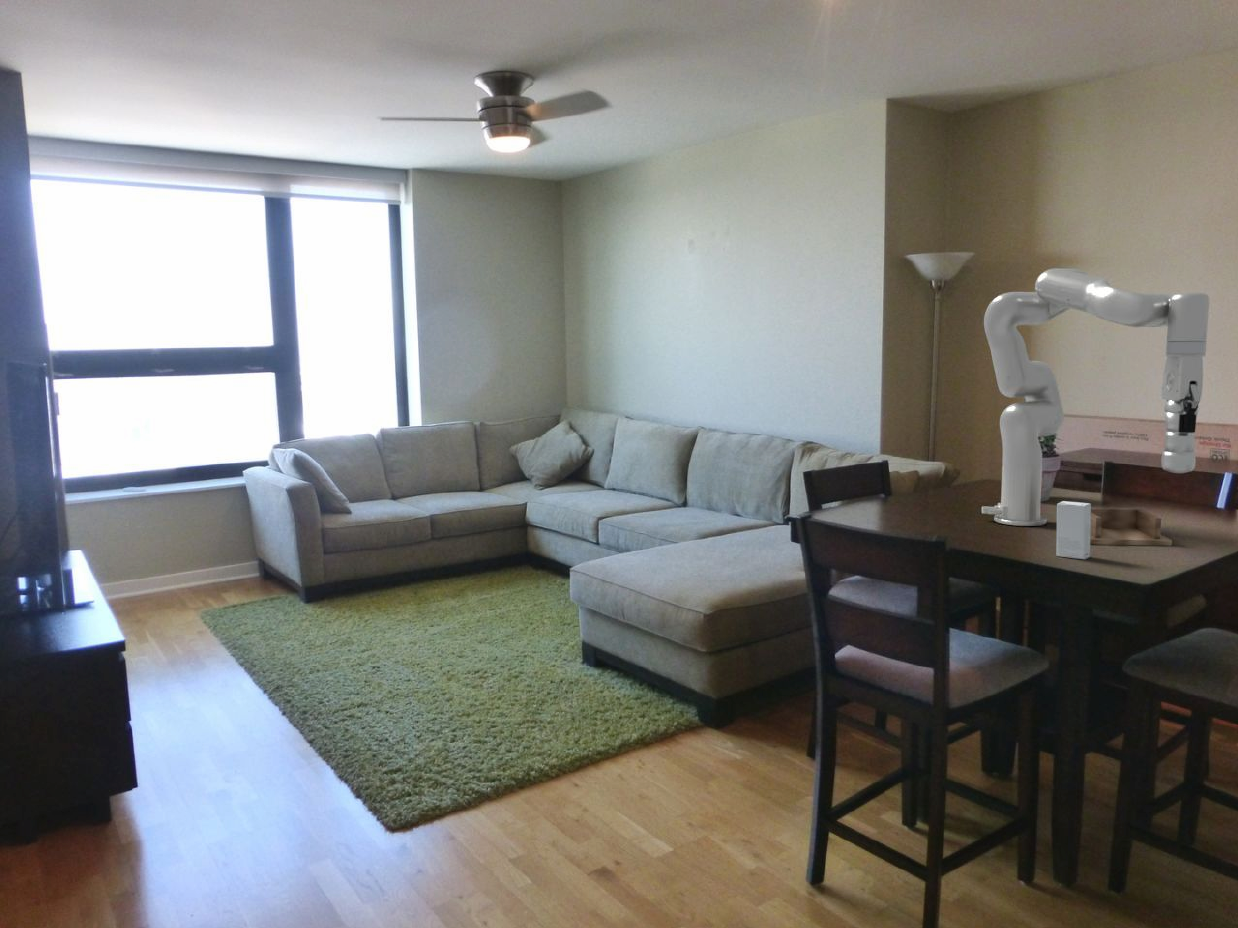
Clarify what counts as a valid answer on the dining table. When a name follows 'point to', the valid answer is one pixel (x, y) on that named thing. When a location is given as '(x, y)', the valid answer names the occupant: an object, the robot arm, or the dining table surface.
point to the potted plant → (1048, 464)
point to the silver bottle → (1177, 442)
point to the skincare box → (1073, 529)
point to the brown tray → (1125, 527)
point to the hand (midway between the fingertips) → (1180, 430)
